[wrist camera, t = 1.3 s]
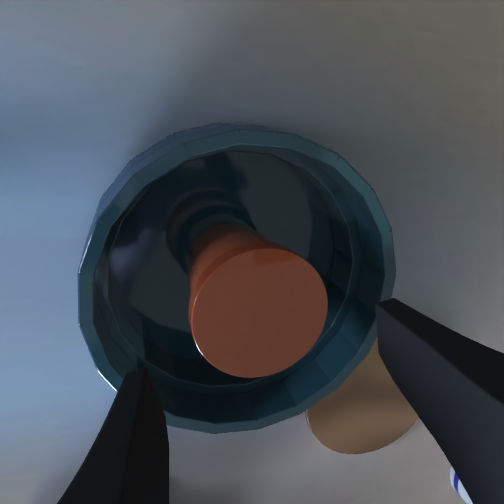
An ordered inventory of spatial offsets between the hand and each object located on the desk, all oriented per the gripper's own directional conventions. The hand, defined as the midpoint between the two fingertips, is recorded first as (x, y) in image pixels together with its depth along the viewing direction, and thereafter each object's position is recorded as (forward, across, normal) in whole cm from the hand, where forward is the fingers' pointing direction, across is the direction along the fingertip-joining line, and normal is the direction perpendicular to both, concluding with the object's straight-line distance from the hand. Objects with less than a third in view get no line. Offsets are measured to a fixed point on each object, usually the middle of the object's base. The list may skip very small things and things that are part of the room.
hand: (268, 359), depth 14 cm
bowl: (+11, 0, +2) cm, 11 cm away
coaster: (+10, -7, +14) cm, 19 cm away
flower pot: (+11, 0, +2) cm, 11 cm away
